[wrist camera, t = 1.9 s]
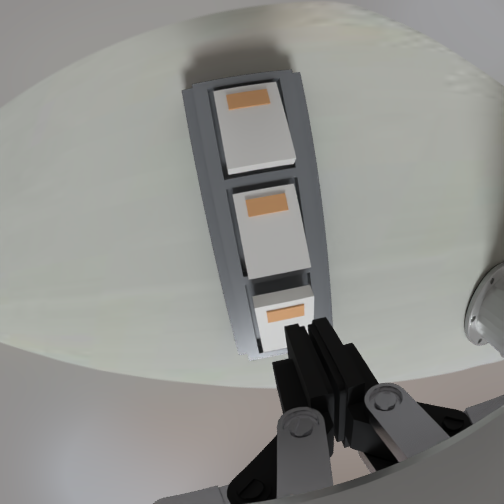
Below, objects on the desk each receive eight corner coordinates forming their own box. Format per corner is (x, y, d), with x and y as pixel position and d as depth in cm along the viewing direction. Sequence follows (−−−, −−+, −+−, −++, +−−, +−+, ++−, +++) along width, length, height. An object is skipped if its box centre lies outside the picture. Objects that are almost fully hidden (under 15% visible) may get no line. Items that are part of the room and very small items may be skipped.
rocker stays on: (293, 163, 20) (296, 157, 18) (228, 174, 20) (227, 168, 18) (274, 90, 20) (276, 80, 18) (214, 99, 20) (213, 90, 18)
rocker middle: (307, 267, 22) (311, 267, 21) (248, 278, 22) (248, 279, 21) (291, 187, 22) (294, 182, 21) (233, 197, 22) (232, 193, 21)
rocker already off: (309, 331, 26) (313, 343, 25) (261, 341, 26) (263, 353, 25) (309, 284, 22) (314, 297, 21) (252, 296, 22) (254, 309, 21)
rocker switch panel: (325, 321, 29) (336, 341, 26) (237, 340, 29) (239, 362, 26) (293, 79, 22) (303, 68, 19) (186, 96, 22) (179, 87, 19)
